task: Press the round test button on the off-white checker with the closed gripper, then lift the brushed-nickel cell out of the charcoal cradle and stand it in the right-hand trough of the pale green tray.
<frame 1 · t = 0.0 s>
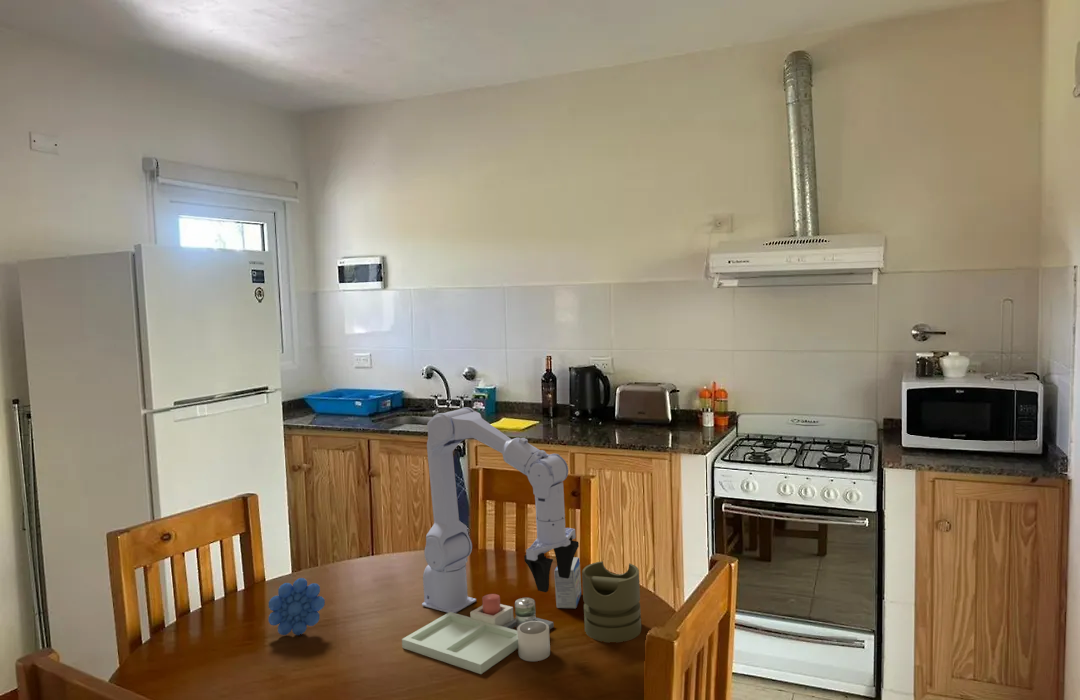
hand: (553, 583, 146), 10 cm above the table, tool pointing down, fingers open, 7 cm apart
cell: (525, 615, 148), in the cradle
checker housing: (492, 623, 152), on the table
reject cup: (534, 653, 139), on the table
piston: (613, 630, 147), on the table
test button: (491, 606, 152), point 4 cm above the table, slide at 0.0 cm
medicine box: (569, 602, 162), on the table
blue flower: (299, 633, 153), on the table
cradle: (526, 630, 149), on the table
trough tray: (464, 644, 144), on the table
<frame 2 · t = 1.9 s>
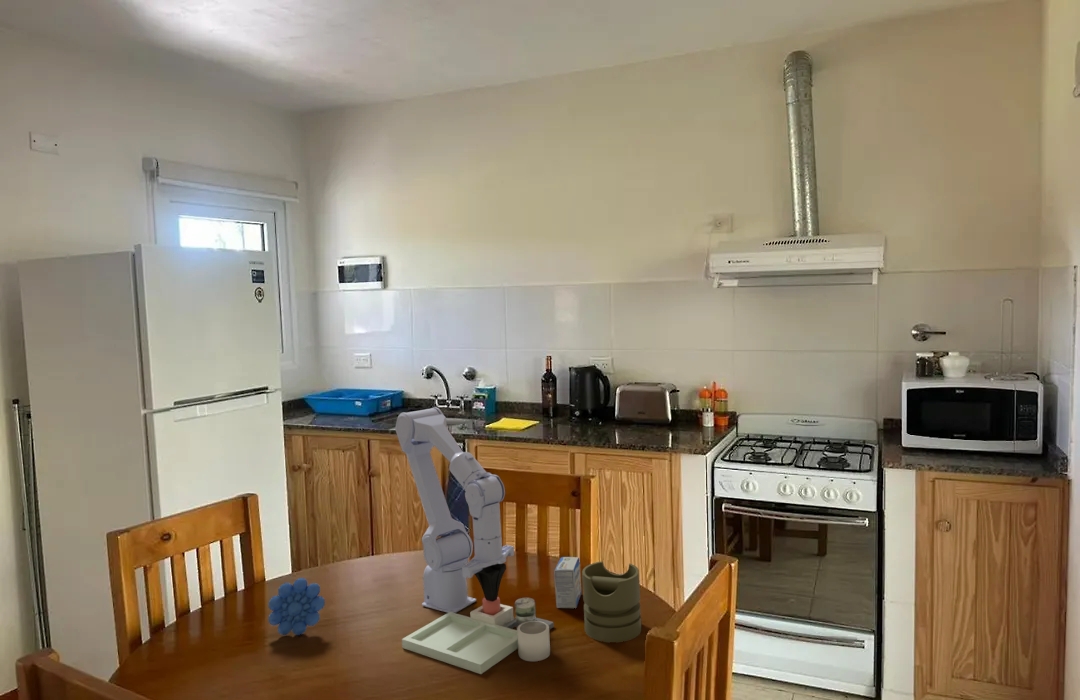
hand: (491, 599, 152), 5 cm above the table, tool pointing down, fingers closed, pressing on test button
test button: (491, 608, 152), point 3 cm above the table, slide at 0.4 cm, touching gripper
everything else where it was.
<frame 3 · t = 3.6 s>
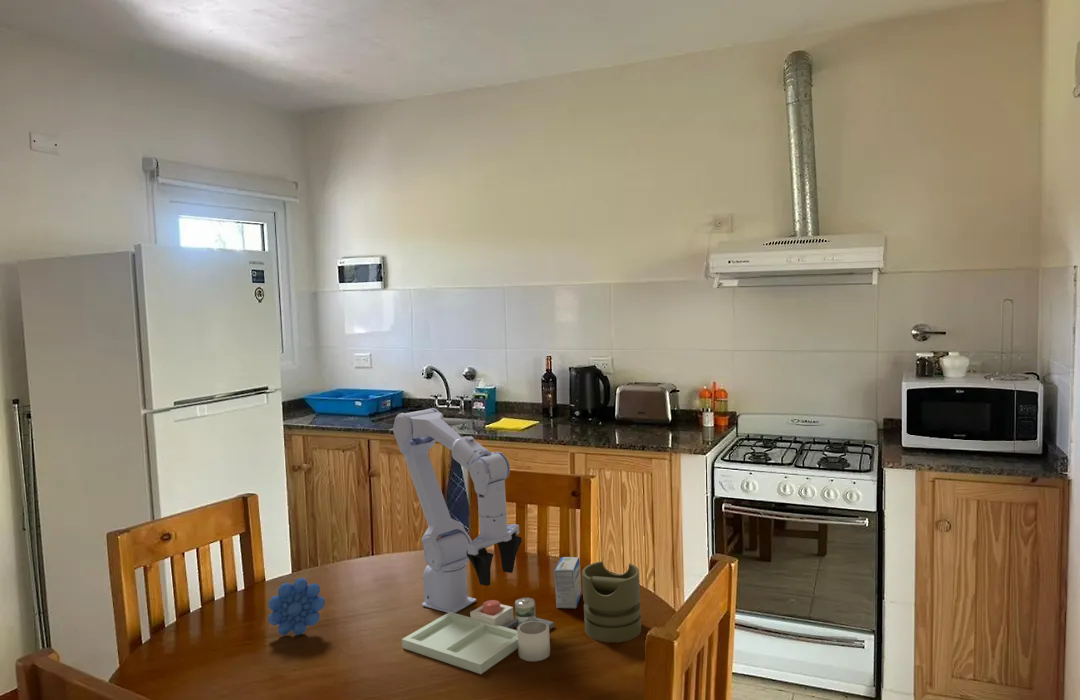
hand: (496, 578, 151), 10 cm above the table, tool pointing down, fingers open, 7 cm apart
test button: (491, 613, 152), point 2 cm above the table, slide at 1.3 cm
everything else where it was.
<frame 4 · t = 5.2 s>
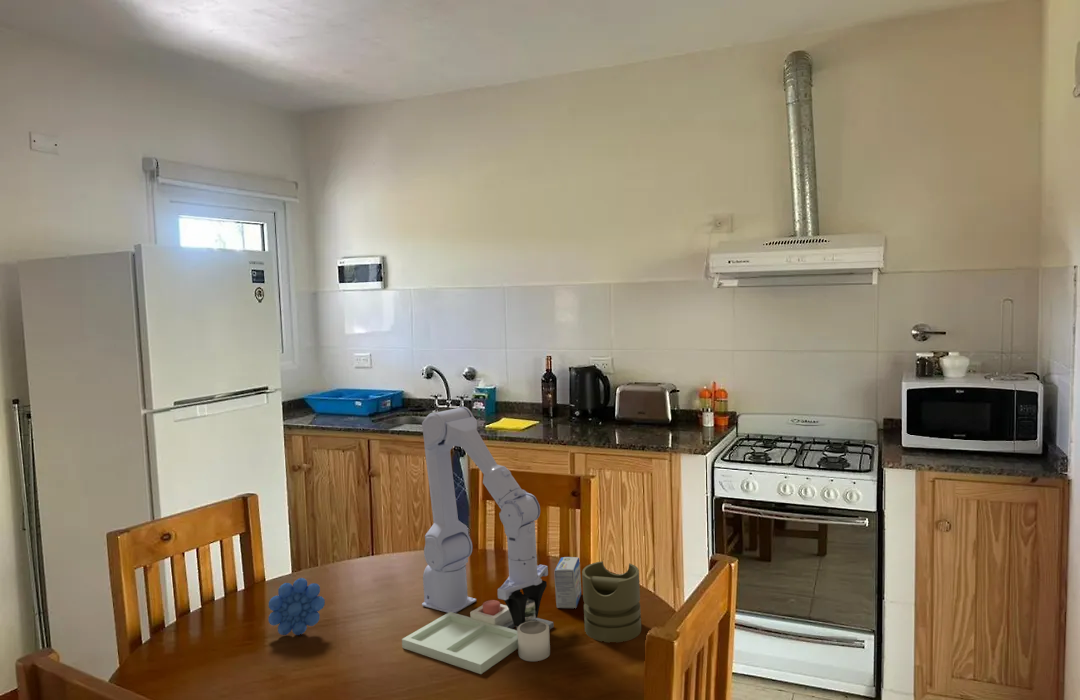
hand: (525, 621, 148), 2 cm above the table, tool pointing down, fingers closed on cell, 4 cm apart
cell: (525, 615, 148), in the cradle, touching gripper
everything else where it was.
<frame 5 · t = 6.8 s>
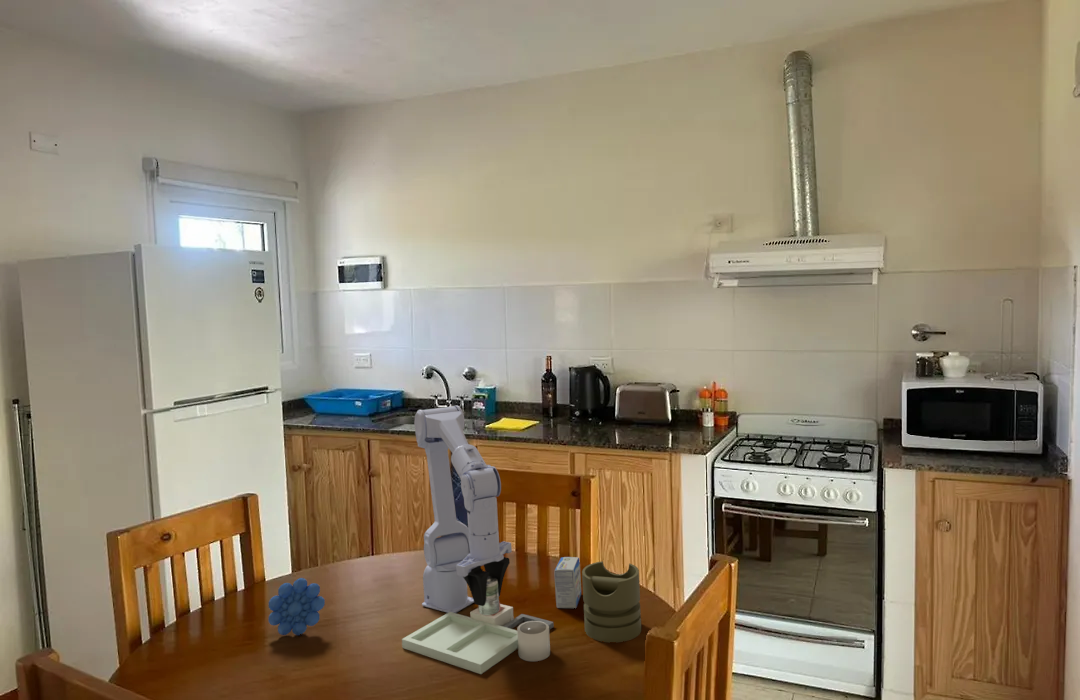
hand: (487, 599, 142), 9 cm above the table, tool pointing down, fingers closed on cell, 4 cm apart
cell: (488, 594, 141), point 10 cm above the table, touching gripper
everything else where it was.
when the fingers open (3 cm above the table, at t = 8.5 s): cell stays where it is, resting on trough tray.
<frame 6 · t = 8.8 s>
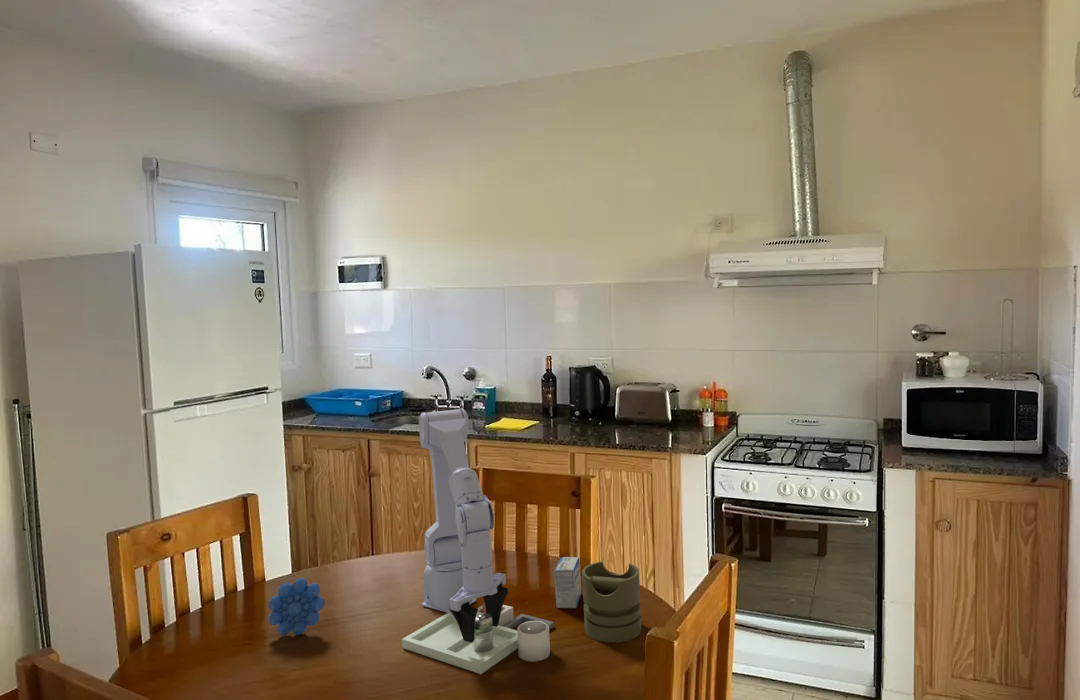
hand: (481, 632, 141), 4 cm above the table, tool pointing down, fingers open, 7 cm apart
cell: (482, 631, 141), in the trough tray, point 4 cm above the table
everything else where it was.
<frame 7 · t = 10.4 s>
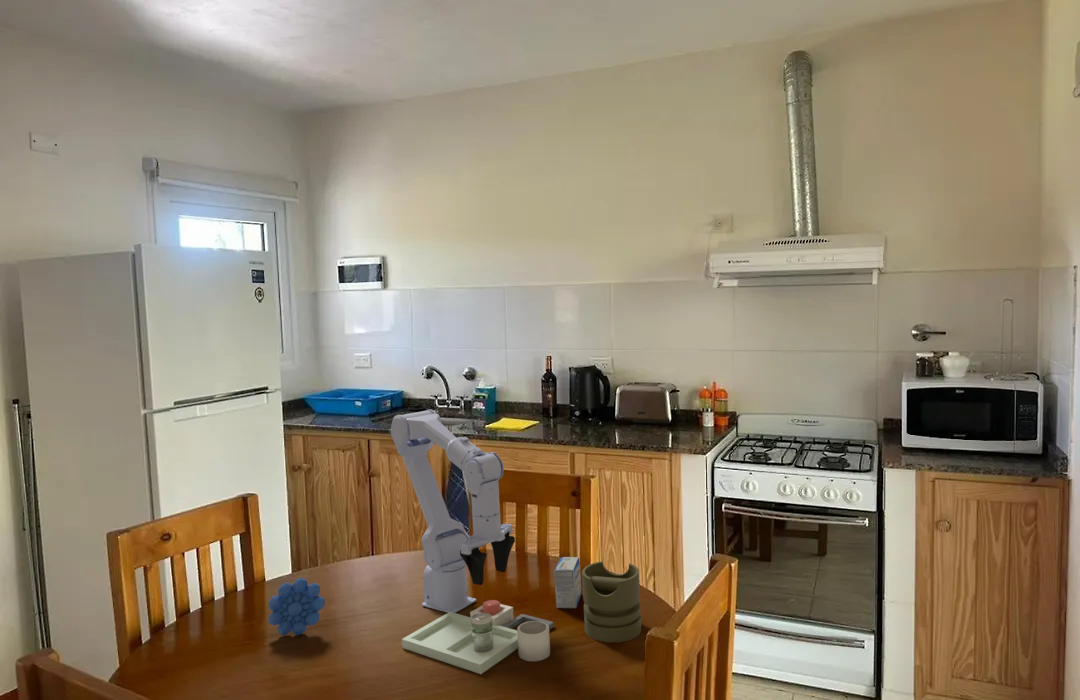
hand: (489, 577, 152), 10 cm above the table, tool pointing down, fingers open, 7 cm apart
nothing on the table moved.
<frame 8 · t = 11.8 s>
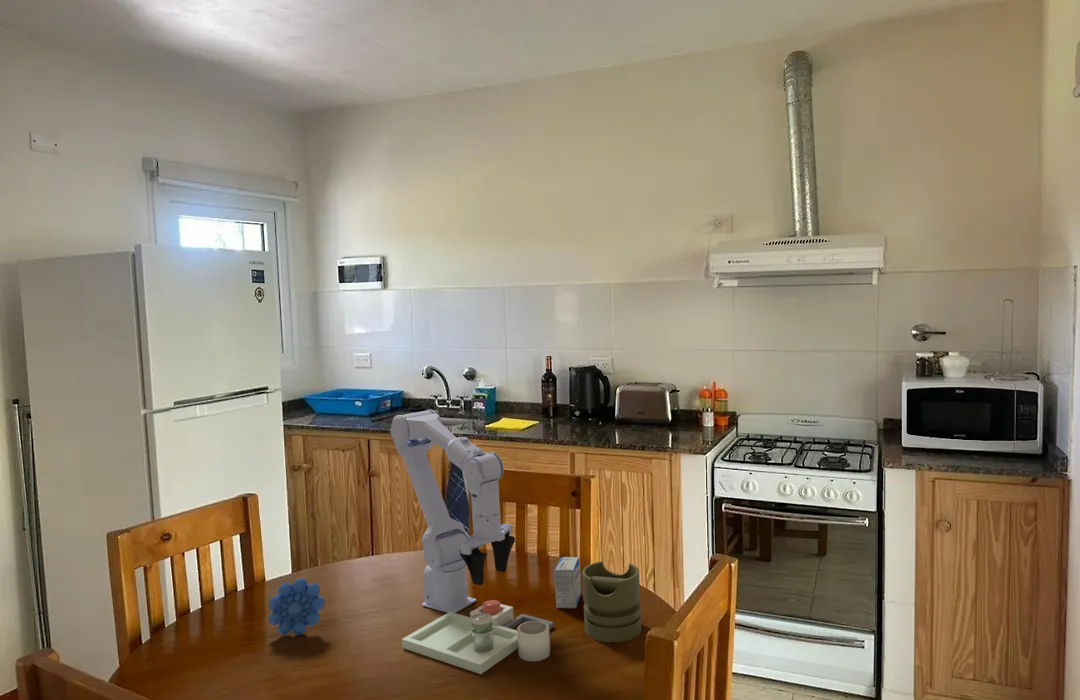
hand: (489, 577, 152), 10 cm above the table, tool pointing down, fingers open, 7 cm apart
nothing on the table moved.
at the end: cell inside the target area on the trough tray (0.1 cm from its centre), point 3.8 cm above the trough tray's base; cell tilted 0°; test button slide at 1.3 cm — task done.
